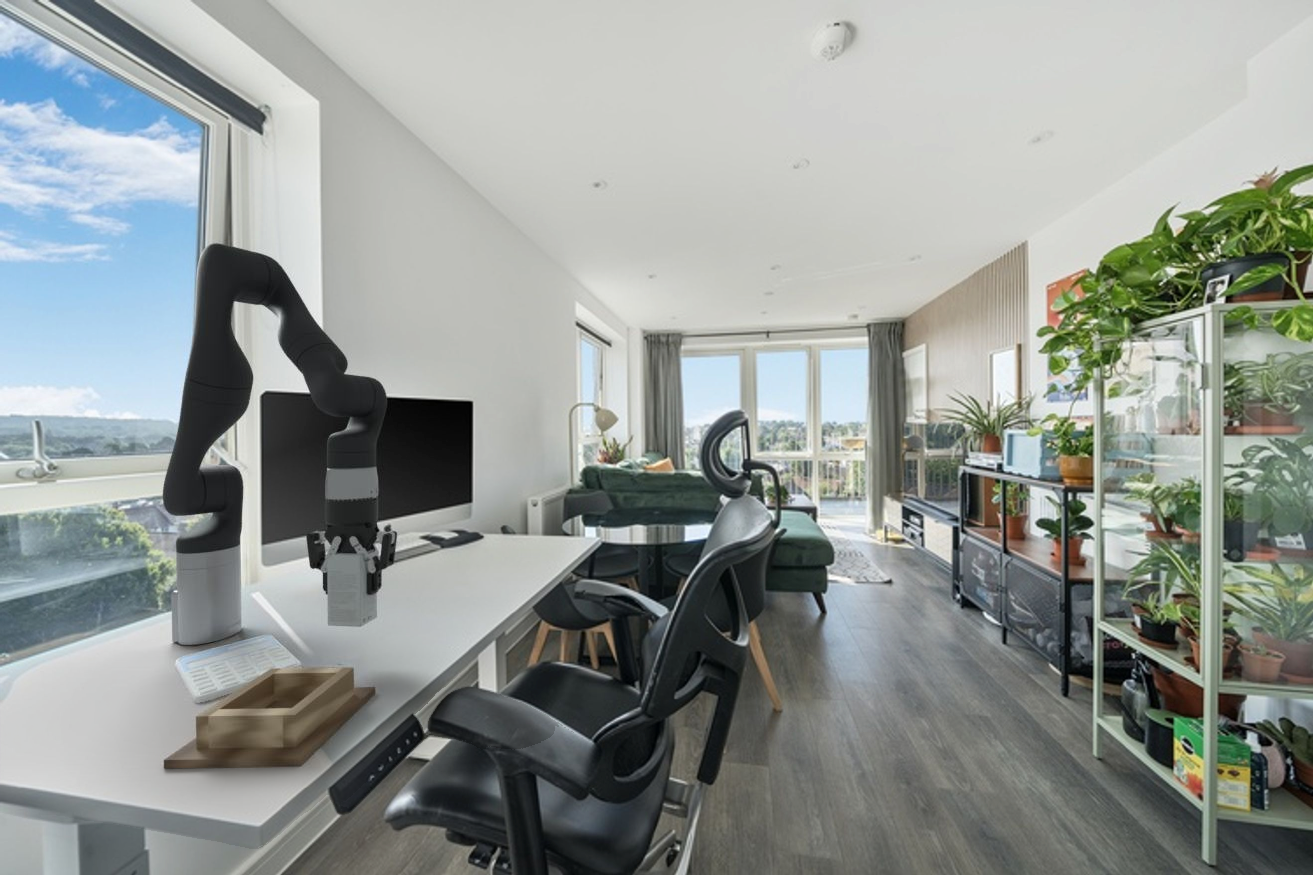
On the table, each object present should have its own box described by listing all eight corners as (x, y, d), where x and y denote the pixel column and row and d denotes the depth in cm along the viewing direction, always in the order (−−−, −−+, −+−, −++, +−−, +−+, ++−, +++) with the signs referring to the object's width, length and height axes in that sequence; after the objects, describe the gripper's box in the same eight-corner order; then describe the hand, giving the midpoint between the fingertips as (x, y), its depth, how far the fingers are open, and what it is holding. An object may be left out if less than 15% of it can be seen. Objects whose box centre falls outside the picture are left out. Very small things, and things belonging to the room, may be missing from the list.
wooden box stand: (163, 768, 58) (163, 726, 58) (268, 694, 74) (268, 662, 74) (300, 765, 58) (300, 724, 58) (375, 693, 74) (375, 660, 74)
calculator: (195, 708, 71) (195, 696, 71) (173, 667, 83) (173, 656, 83) (304, 673, 81) (303, 661, 81) (270, 640, 94) (270, 631, 94)
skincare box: (377, 617, 84) (377, 548, 84) (360, 628, 80) (360, 555, 79) (345, 616, 84) (344, 547, 84) (326, 626, 80) (325, 553, 80)
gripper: (292, 497, 78) (293, 601, 78) (383, 497, 78) (383, 601, 78) (323, 490, 85) (324, 585, 85) (406, 491, 85) (406, 586, 86)
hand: (352, 592), depth 82 cm, fingers closed on skincare box, 6 cm apart
